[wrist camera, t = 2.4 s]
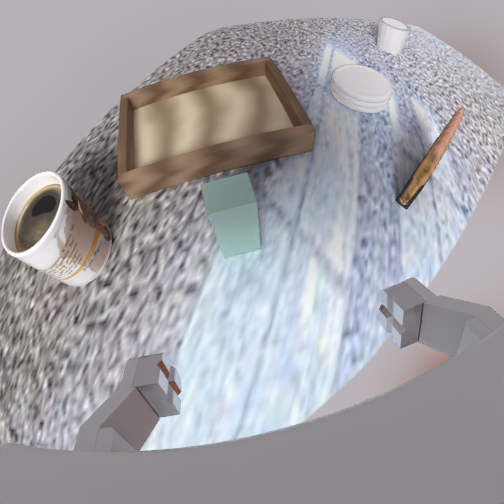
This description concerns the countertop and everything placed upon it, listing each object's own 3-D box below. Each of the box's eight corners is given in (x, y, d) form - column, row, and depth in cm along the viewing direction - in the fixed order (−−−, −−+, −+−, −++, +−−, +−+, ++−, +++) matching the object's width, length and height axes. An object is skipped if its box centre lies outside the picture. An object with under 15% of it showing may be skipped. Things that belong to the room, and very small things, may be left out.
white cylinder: (409, 56, 46) (416, 31, 40) (386, 55, 46) (393, 29, 39) (390, 40, 49) (396, 17, 42) (368, 40, 48) (373, 15, 42)
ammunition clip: (425, 157, 36) (458, 100, 25) (435, 165, 36) (470, 109, 24) (394, 201, 34) (434, 139, 23) (406, 210, 33) (449, 151, 22)
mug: (44, 281, 32) (-12, 252, 22) (67, 202, 37) (24, 159, 26) (102, 291, 32) (44, 260, 21) (125, 201, 36) (85, 149, 25)
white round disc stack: (334, 72, 44) (336, 57, 40) (388, 88, 42) (392, 73, 39) (325, 104, 40) (328, 87, 37) (387, 122, 39) (393, 106, 35)
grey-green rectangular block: (225, 258, 32) (207, 214, 23) (219, 234, 33) (200, 184, 24) (260, 248, 32) (257, 201, 23) (253, 224, 33) (247, 172, 24)
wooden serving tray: (130, 199, 36) (117, 182, 32) (129, 112, 42) (121, 95, 39) (312, 151, 37) (315, 130, 33) (270, 75, 43) (269, 56, 40)
